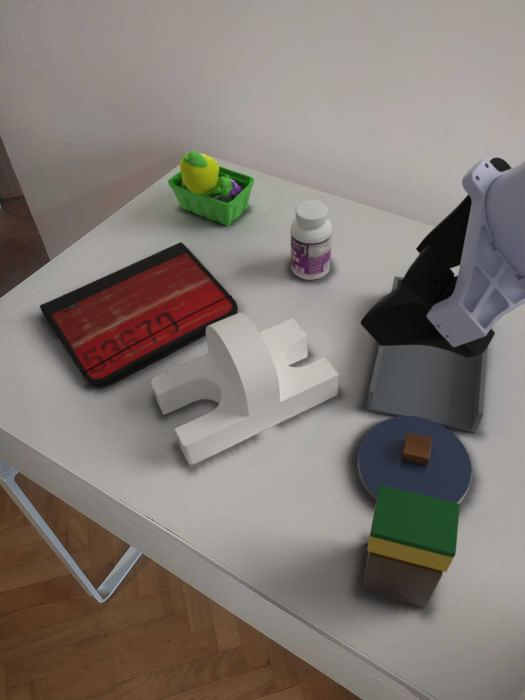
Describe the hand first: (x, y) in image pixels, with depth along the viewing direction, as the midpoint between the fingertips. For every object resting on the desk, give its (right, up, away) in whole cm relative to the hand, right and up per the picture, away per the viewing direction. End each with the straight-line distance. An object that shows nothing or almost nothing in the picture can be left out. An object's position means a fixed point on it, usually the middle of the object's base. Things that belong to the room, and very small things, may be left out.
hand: (401, 292), depth 36 cm
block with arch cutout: (-11, -9, +29) cm, 32 cm away
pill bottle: (-2, +7, +43) cm, 43 cm away
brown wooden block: (+3, -23, +15) cm, 28 cm away
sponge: (+3, -18, +9) cm, 21 cm away
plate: (+6, -15, +22) cm, 28 cm away
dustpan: (+12, -2, +33) cm, 35 cm away
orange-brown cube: (+7, -14, +22) cm, 27 cm away
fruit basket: (-16, +18, +52) cm, 58 cm away
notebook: (-24, +1, +38) cm, 45 cm away
